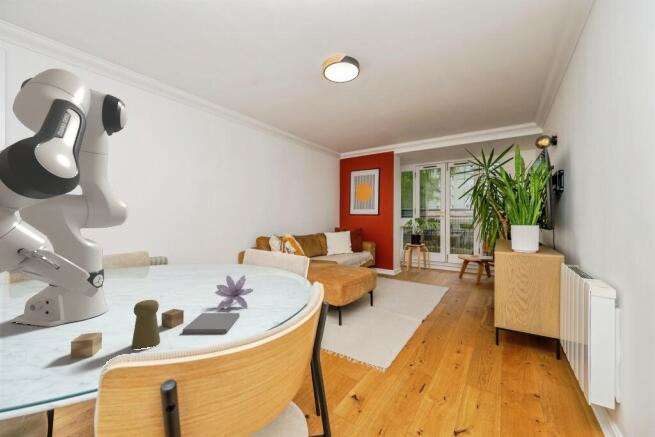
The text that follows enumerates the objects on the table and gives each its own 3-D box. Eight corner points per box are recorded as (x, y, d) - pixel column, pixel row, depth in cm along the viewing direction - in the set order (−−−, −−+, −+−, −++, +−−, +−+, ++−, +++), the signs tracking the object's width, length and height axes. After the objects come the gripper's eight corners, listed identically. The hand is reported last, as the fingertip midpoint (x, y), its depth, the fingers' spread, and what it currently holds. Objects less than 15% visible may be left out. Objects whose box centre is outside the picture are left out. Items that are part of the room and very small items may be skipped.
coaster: (182, 333, 71) (182, 329, 71) (202, 316, 83) (202, 313, 83) (226, 333, 72) (226, 329, 72) (239, 316, 84) (239, 313, 84)
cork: (141, 339, 68) (141, 297, 68) (165, 338, 68) (165, 297, 68) (125, 351, 62) (125, 305, 62) (151, 350, 62) (152, 305, 62)
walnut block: (161, 326, 76) (161, 313, 76) (173, 321, 79) (173, 308, 79) (171, 328, 74) (172, 314, 74) (183, 323, 78) (183, 310, 78)
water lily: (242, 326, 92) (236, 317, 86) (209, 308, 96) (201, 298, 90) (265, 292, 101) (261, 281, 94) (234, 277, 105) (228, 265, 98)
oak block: (70, 359, 58) (71, 341, 58) (81, 350, 62) (81, 334, 62) (92, 356, 59) (92, 339, 59) (101, 348, 63) (102, 332, 63)
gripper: (52, 237, 42) (121, 283, 51) (12, 233, 52) (76, 273, 60) (10, 268, 38) (93, 312, 47) (-25, 258, 48) (49, 297, 57)
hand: (83, 290), depth 54 cm, fingers open, 8 cm apart
